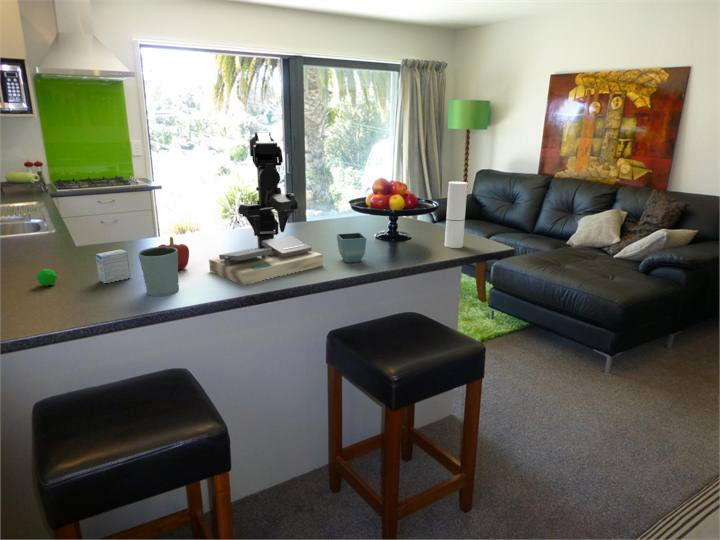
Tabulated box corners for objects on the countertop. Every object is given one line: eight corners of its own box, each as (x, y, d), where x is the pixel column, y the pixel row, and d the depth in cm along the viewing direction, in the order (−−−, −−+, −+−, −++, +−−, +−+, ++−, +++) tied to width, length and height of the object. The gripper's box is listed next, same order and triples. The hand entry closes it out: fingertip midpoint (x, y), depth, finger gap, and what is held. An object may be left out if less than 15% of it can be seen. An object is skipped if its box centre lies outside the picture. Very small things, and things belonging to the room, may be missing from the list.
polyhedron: (36, 285, 143) (33, 269, 142) (55, 281, 146) (52, 266, 145) (41, 289, 140) (37, 273, 138) (60, 285, 143) (57, 270, 142)
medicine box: (124, 275, 153) (121, 248, 150) (131, 278, 150) (128, 251, 147) (98, 281, 147) (94, 254, 144) (105, 284, 144) (101, 256, 141)
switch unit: (210, 271, 158) (208, 251, 156) (287, 254, 179) (286, 236, 177) (243, 285, 144) (241, 264, 142) (322, 265, 165) (322, 246, 163)
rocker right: (261, 244, 165) (261, 240, 164) (290, 239, 173) (290, 235, 173) (282, 257, 158) (282, 253, 157) (311, 251, 166) (311, 246, 165)
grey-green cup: (186, 285, 144) (182, 246, 140) (174, 297, 134) (170, 255, 131) (151, 285, 143) (146, 246, 140) (137, 297, 134) (131, 255, 130)
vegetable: (157, 266, 163) (154, 237, 160) (190, 263, 166) (187, 234, 163) (156, 275, 153) (153, 244, 150) (191, 272, 157) (188, 242, 154)
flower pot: (342, 264, 166) (342, 239, 164) (336, 258, 175) (336, 233, 172) (366, 263, 169) (367, 238, 166) (359, 256, 177) (360, 232, 174)
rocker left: (219, 259, 155) (218, 254, 155) (252, 252, 163) (251, 248, 163) (239, 260, 146) (238, 255, 146) (272, 253, 154) (271, 248, 154)
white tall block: (461, 243, 197) (466, 181, 190) (463, 248, 190) (468, 184, 183) (443, 243, 198) (447, 181, 190) (445, 247, 191) (449, 183, 183)
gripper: (258, 189, 136) (260, 243, 141) (308, 184, 149) (309, 233, 153) (235, 185, 143) (239, 237, 148) (286, 181, 156) (287, 228, 161)
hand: (270, 234), depth 152 cm, fingers open, 9 cm apart
